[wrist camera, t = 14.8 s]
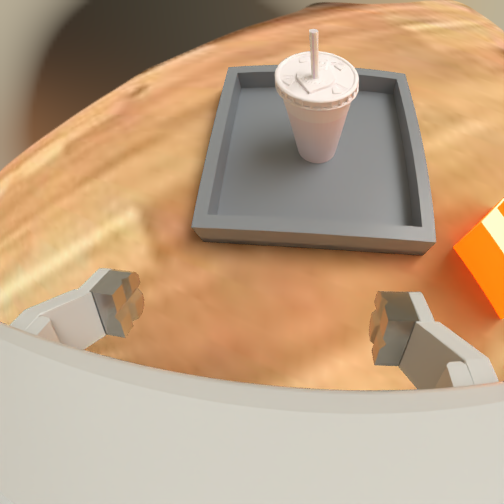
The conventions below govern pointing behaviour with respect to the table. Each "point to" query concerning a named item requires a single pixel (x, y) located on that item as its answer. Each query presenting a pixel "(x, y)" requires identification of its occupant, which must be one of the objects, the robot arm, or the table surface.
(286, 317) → the table surface
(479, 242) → the orange juice
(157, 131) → the table surface
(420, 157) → the tray
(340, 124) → the smoothie
